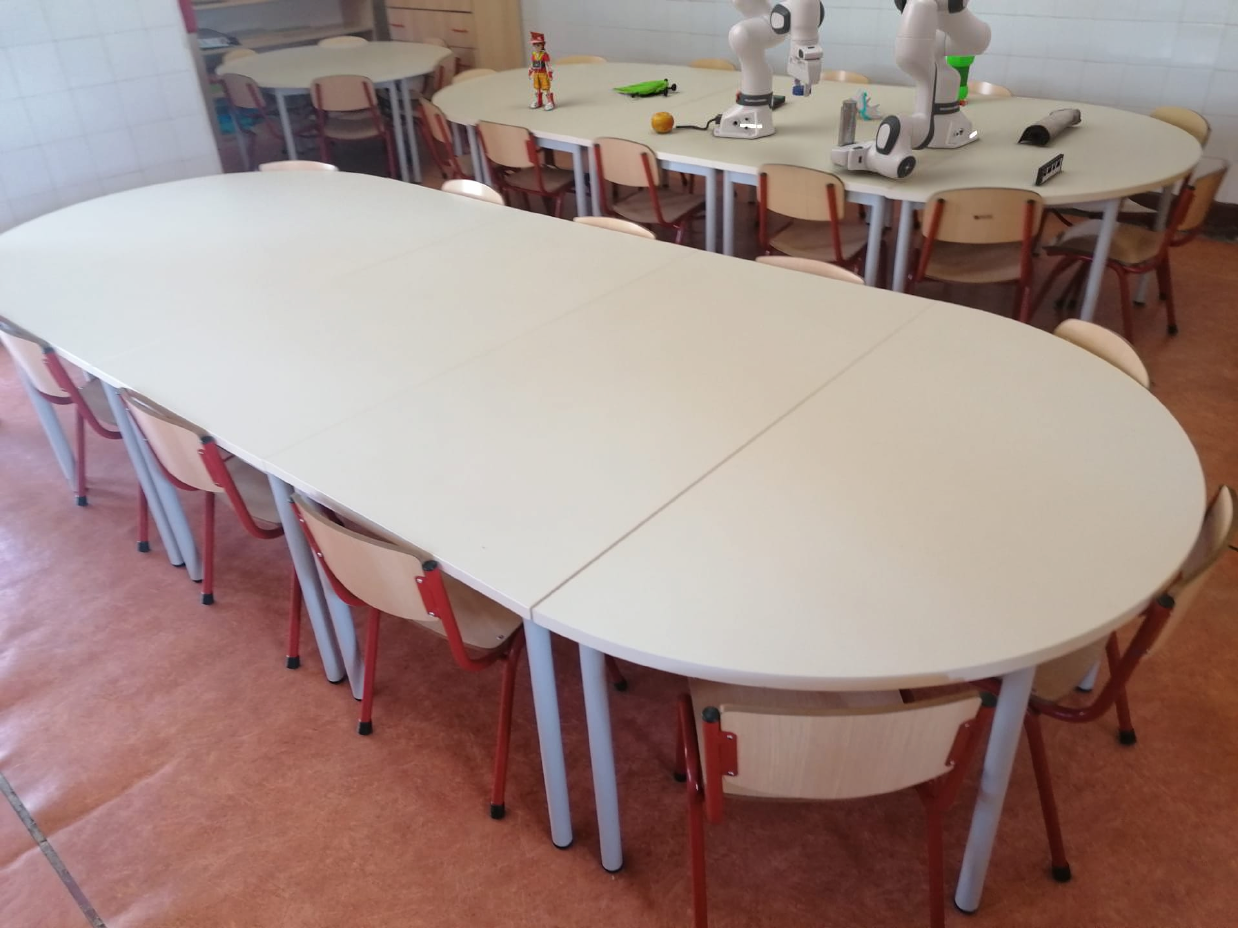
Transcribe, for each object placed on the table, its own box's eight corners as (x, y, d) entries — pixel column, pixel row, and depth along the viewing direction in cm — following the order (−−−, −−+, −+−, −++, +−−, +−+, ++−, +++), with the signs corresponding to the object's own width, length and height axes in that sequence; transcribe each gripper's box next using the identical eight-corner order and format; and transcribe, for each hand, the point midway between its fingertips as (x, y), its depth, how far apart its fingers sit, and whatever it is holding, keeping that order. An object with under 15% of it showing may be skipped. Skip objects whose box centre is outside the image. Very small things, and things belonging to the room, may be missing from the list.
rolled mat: (1047, 113, 322) (1072, 96, 314) (1061, 134, 323) (1087, 117, 314) (1013, 137, 305) (1039, 118, 297) (1028, 159, 305) (1054, 142, 297)
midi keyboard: (1039, 185, 269) (1043, 168, 266) (1035, 184, 270) (1038, 168, 267) (1060, 170, 279) (1064, 154, 277) (1056, 169, 280) (1060, 153, 277)
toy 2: (686, 85, 398) (631, 84, 414) (685, 72, 395) (629, 72, 411) (651, 104, 381) (596, 103, 397) (650, 92, 378) (594, 91, 394)
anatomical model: (845, 88, 346) (871, 81, 345) (848, 116, 352) (873, 109, 351) (857, 98, 334) (883, 90, 333) (859, 126, 340) (885, 119, 339)
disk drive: (770, 111, 358) (785, 102, 368) (771, 104, 356) (785, 95, 366) (747, 109, 362) (762, 100, 372) (747, 102, 361) (762, 93, 371)
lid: (803, 96, 290) (803, 90, 289) (788, 94, 294) (788, 88, 293) (814, 93, 294) (815, 86, 292) (800, 91, 297) (800, 84, 296)
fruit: (644, 124, 337) (655, 105, 334) (651, 127, 345) (662, 108, 342) (662, 136, 336) (673, 117, 333) (668, 139, 344) (680, 120, 341)
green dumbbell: (973, 101, 354) (984, 32, 339) (955, 106, 349) (966, 36, 335) (952, 97, 361) (962, 29, 346) (934, 102, 356) (944, 33, 342)
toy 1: (525, 109, 381) (517, 32, 364) (534, 104, 388) (527, 28, 371) (550, 110, 377) (543, 32, 360) (559, 105, 384) (553, 28, 367)
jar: (845, 166, 295) (851, 104, 283) (832, 163, 298) (838, 101, 287) (855, 163, 297) (861, 101, 286) (843, 160, 301) (848, 98, 289)
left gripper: (783, 44, 294) (781, 89, 302) (806, 55, 277) (804, 101, 285) (801, 42, 295) (799, 87, 303) (825, 52, 278) (822, 99, 286)
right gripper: (898, 139, 287) (869, 130, 297) (848, 151, 280) (820, 141, 290) (896, 159, 290) (867, 150, 301) (846, 171, 283) (818, 161, 293)
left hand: (801, 94), depth 294 cm, fingers closed on lid, 6 cm apart
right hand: (844, 146), depth 295 cm, fingers closed on jar, 5 cm apart
